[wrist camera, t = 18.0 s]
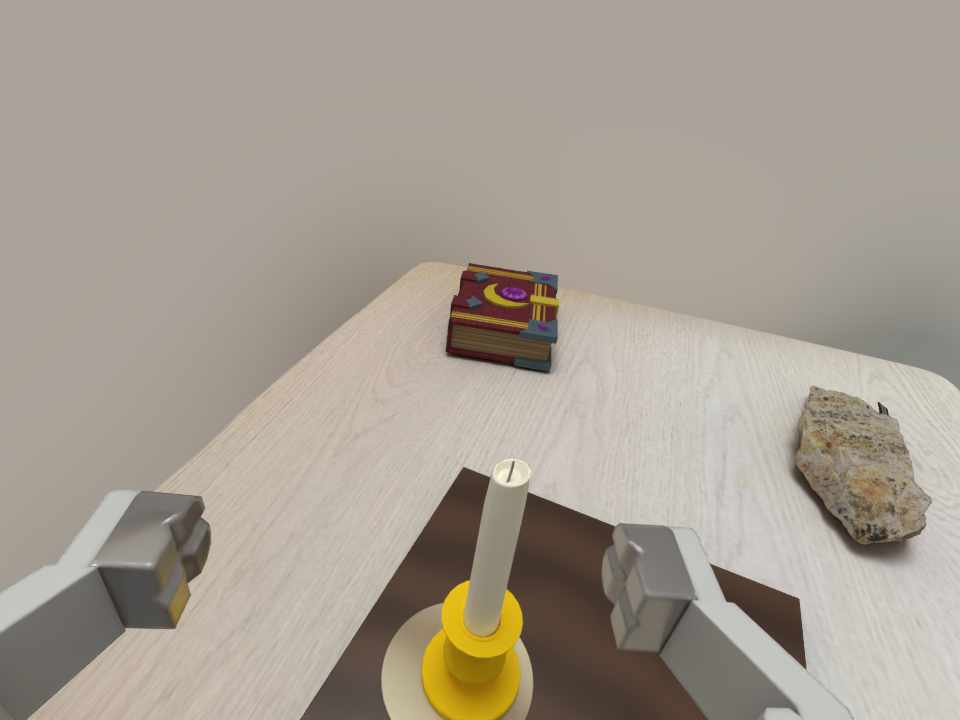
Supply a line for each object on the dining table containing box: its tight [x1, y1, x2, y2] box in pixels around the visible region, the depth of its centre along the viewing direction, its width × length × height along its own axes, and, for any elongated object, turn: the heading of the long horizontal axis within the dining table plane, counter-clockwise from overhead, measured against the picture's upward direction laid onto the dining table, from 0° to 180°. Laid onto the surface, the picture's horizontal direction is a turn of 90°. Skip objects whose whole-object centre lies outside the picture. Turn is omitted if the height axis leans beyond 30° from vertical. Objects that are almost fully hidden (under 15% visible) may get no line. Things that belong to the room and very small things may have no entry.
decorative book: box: [446, 263, 559, 372], centre depth 61 cm, size 11×16×5 cm
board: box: [300, 467, 807, 720], centre depth 29 cm, size 24×24×2 cm
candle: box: [421, 459, 531, 720], centre depth 24 cm, size 5×5×16 cm
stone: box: [795, 386, 932, 544], centre depth 47 cm, size 21×6×10 cm
